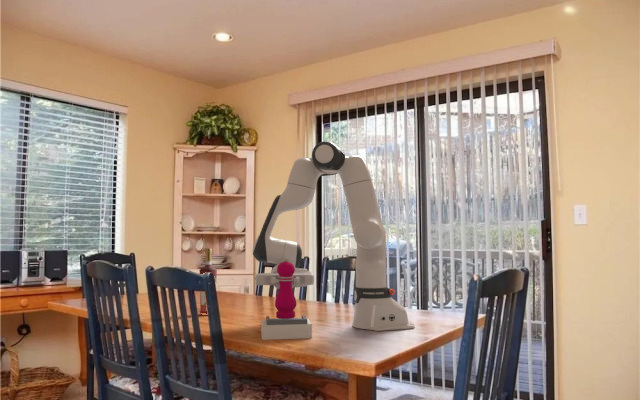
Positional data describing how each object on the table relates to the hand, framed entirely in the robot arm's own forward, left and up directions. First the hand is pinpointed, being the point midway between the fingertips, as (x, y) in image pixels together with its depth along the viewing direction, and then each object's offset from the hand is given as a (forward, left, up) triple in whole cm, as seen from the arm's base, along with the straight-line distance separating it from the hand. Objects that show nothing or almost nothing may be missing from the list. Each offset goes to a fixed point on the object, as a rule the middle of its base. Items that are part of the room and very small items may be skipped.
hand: (286, 281), depth 159 cm
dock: (0, -2, -18) cm, 18 cm away
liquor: (+30, -50, -18) cm, 61 cm away
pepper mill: (0, -1, -12) cm, 12 cm away
